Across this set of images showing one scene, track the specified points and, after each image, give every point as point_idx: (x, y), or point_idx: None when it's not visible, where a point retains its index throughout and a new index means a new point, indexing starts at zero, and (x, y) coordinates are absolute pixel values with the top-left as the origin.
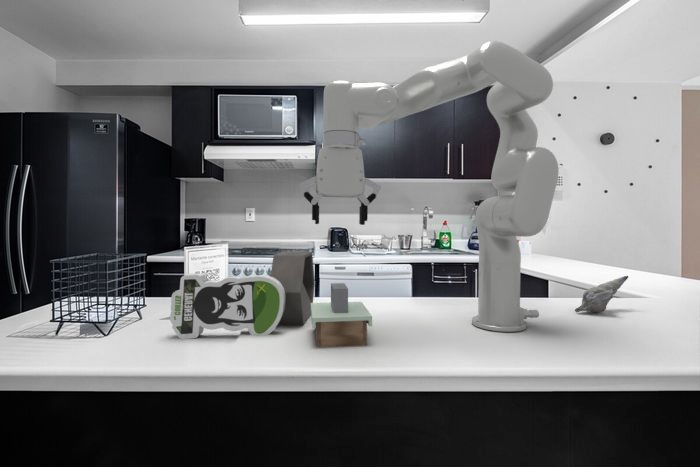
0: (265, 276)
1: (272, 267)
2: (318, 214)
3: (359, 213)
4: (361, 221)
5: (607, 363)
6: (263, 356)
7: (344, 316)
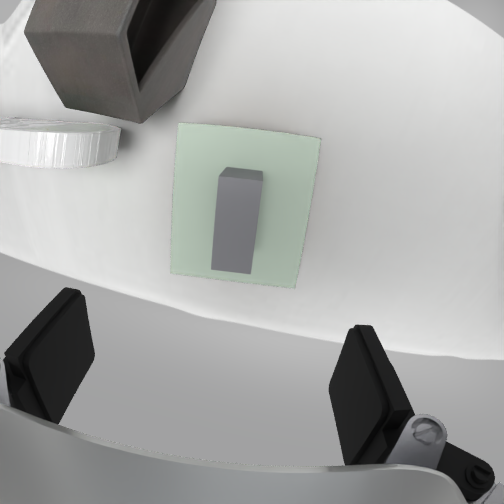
0: (33, 151)
1: (41, 62)
2: (73, 388)
3: (370, 370)
4: (330, 397)
5: (499, 348)
6: (112, 243)
7: (237, 277)
